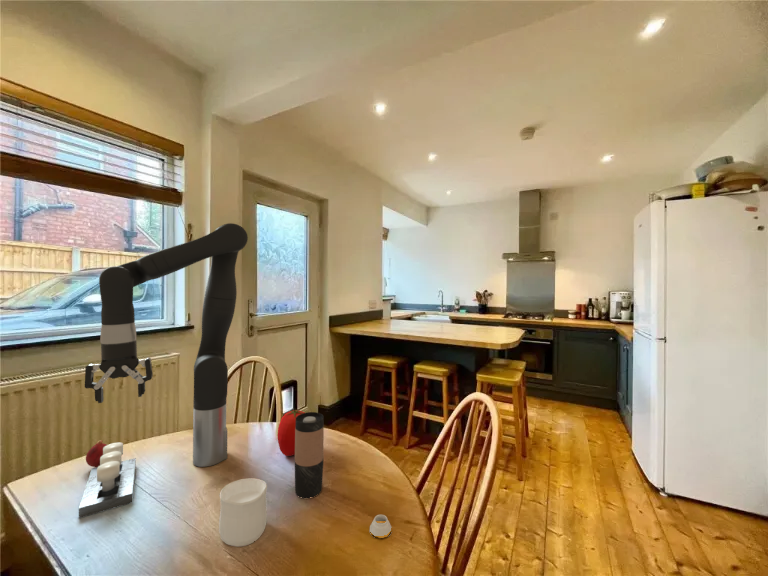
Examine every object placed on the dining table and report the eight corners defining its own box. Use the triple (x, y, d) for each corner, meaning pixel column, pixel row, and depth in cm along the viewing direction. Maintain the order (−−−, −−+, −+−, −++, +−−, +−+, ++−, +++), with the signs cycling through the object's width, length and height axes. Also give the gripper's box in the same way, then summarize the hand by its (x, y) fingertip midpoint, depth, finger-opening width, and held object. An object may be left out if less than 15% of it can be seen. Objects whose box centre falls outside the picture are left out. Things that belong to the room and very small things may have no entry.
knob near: (120, 481, 86) (120, 459, 86) (118, 489, 83) (118, 467, 83) (98, 486, 84) (98, 464, 84) (95, 496, 80) (95, 472, 80)
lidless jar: (365, 532, 75) (380, 544, 71) (365, 519, 75) (381, 530, 71) (380, 520, 78) (395, 531, 75) (380, 508, 78) (396, 519, 75)
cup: (265, 543, 71) (266, 499, 71) (214, 554, 68) (214, 507, 68) (267, 513, 80) (268, 474, 80) (222, 521, 77) (223, 480, 77)
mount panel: (135, 465, 99) (135, 458, 99) (132, 502, 83) (132, 493, 83) (91, 476, 93) (91, 468, 93) (78, 518, 77) (78, 508, 77)
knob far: (123, 460, 96) (123, 441, 96) (122, 467, 93) (122, 447, 92) (103, 465, 94) (104, 445, 94) (101, 472, 90) (102, 451, 90)
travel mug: (328, 486, 91) (329, 414, 91) (311, 502, 84) (312, 425, 84) (306, 479, 94) (307, 410, 94) (288, 494, 87) (289, 419, 87)
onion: (96, 474, 95) (96, 446, 95) (80, 471, 96) (80, 444, 96) (116, 463, 100) (116, 437, 100) (101, 461, 102) (101, 435, 101)
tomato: (299, 440, 117) (299, 401, 117) (321, 450, 110) (322, 408, 110) (268, 455, 107) (269, 412, 107) (291, 467, 100) (291, 421, 100)
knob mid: (121, 470, 91) (122, 449, 91) (120, 478, 88) (120, 456, 88) (101, 475, 89) (101, 454, 89) (99, 483, 85) (99, 461, 85)
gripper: (152, 335, 96) (154, 390, 96) (88, 340, 89) (90, 399, 89) (149, 339, 89) (151, 398, 90) (79, 345, 82) (82, 409, 83)
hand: (121, 399), depth 89 cm, fingers open, 8 cm apart
